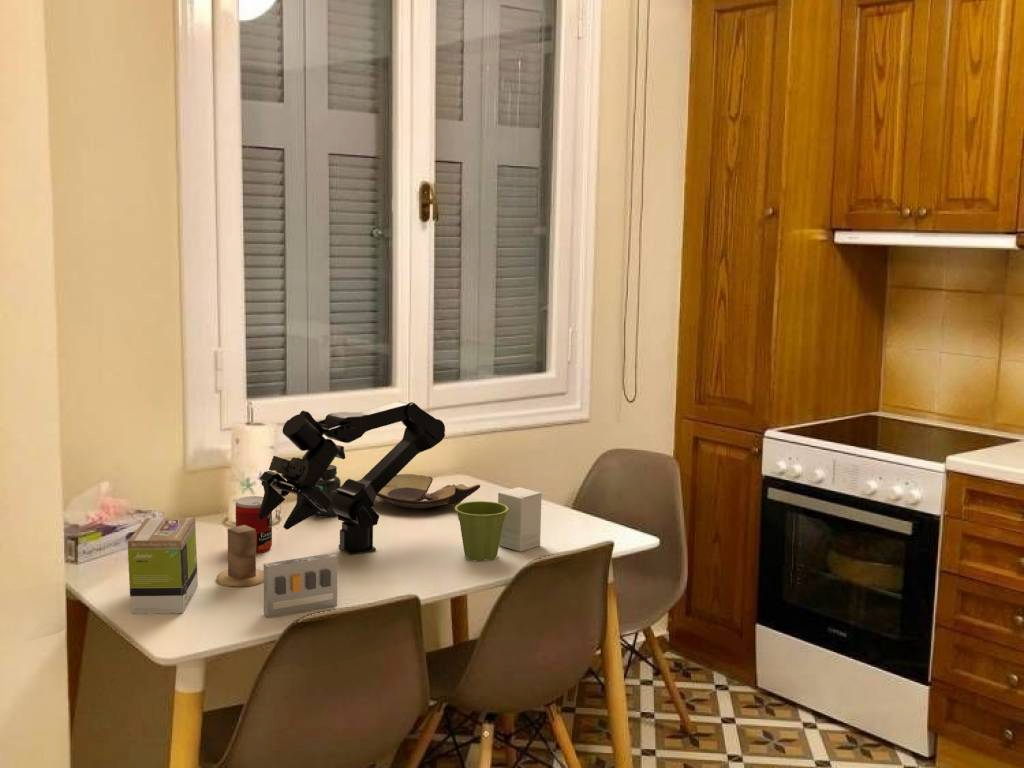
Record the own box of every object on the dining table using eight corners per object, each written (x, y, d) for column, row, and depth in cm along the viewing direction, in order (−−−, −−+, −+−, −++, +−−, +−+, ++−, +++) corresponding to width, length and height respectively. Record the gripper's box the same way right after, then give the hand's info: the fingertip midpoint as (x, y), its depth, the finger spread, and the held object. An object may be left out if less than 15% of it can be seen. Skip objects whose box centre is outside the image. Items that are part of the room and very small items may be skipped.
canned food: (263, 555, 246) (263, 506, 244) (229, 551, 247) (229, 503, 246) (277, 544, 253) (277, 497, 252) (244, 541, 255) (244, 494, 253)
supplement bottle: (319, 519, 274) (319, 471, 272) (308, 512, 280) (308, 465, 278) (345, 515, 278) (345, 468, 276) (333, 508, 283) (333, 462, 281)
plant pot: (506, 548, 256) (508, 500, 254) (507, 565, 244) (509, 515, 242) (454, 547, 255) (455, 499, 253) (452, 564, 244) (454, 514, 242)
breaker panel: (332, 602, 219) (333, 553, 217) (338, 607, 217) (339, 557, 215) (263, 614, 212) (263, 563, 210) (269, 619, 209) (268, 568, 208)
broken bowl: (414, 487, 306) (415, 460, 305) (492, 511, 286) (493, 482, 285) (349, 501, 290) (349, 472, 289) (426, 528, 270) (426, 497, 269)
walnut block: (244, 571, 233) (244, 524, 232) (255, 576, 231) (255, 529, 229) (228, 575, 231) (227, 528, 229) (239, 580, 228) (238, 533, 226)
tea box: (147, 587, 224) (146, 515, 222) (199, 587, 225) (197, 515, 223) (128, 615, 210) (126, 538, 207) (183, 614, 211) (182, 538, 208)
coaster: (257, 567, 238) (256, 565, 237) (273, 582, 229) (273, 579, 229) (210, 575, 232) (210, 572, 232) (225, 590, 224) (225, 587, 224)
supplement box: (541, 545, 259) (543, 492, 257) (519, 552, 253) (521, 498, 251) (517, 538, 264) (519, 486, 261) (495, 545, 258) (497, 491, 256)
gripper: (266, 434, 241) (222, 493, 236) (319, 449, 229) (274, 512, 223) (297, 463, 248) (255, 521, 243) (350, 480, 236) (307, 541, 230)
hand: (271, 523), depth 234 cm, fingers open, 9 cm apart
